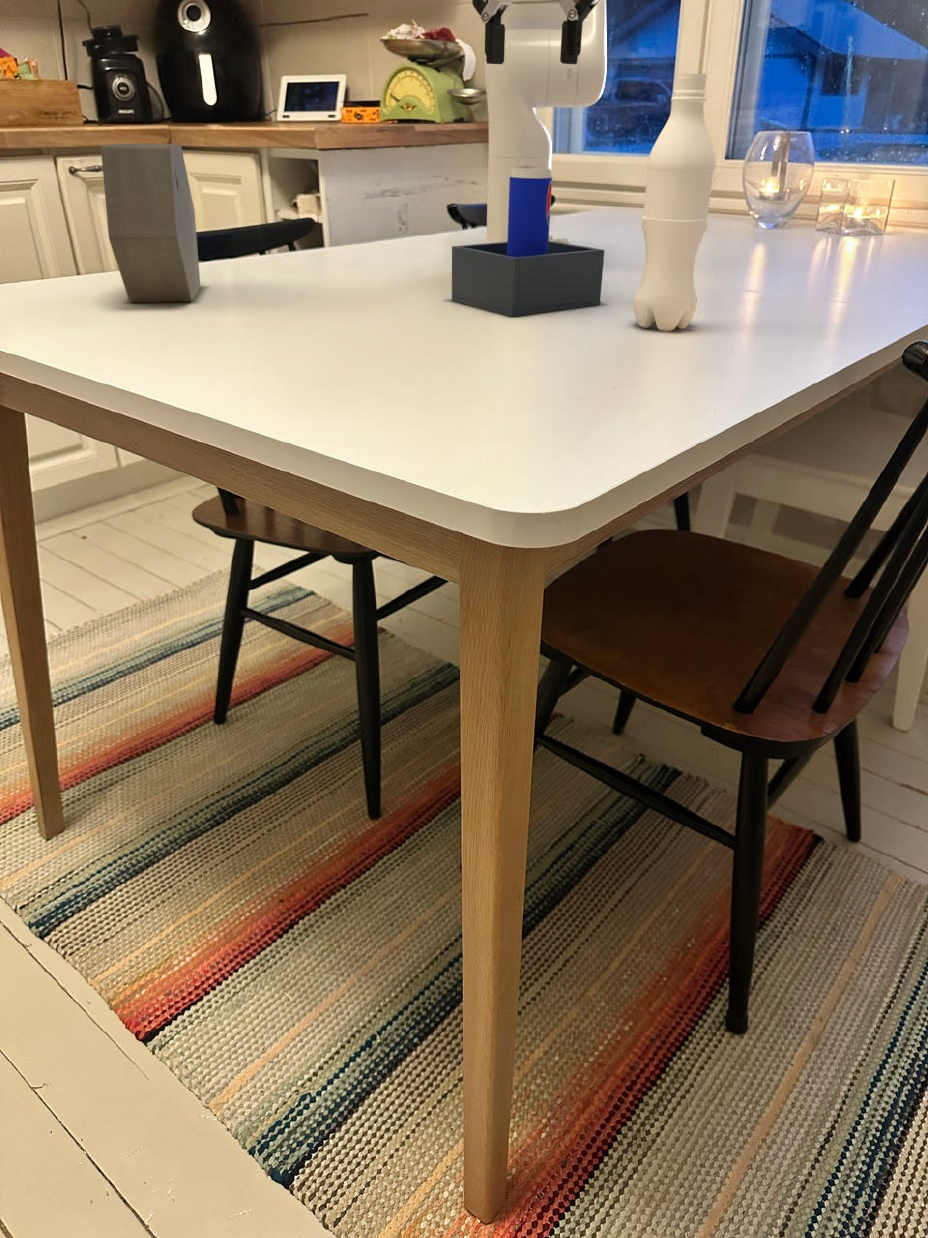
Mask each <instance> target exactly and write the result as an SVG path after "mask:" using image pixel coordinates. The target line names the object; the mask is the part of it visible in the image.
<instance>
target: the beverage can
mask: <svg viewBox="0 0 928 1238" xmlns="http://www.w3.org/2000/svg"><path fill="white" fill-rule="evenodd" d="M552 187H553V175H552V168H551V169H550V168H545V167H513V168H512V171H511V174H510V183H509V211H508V240H507V256H511V257H524V256H534V255H545V254H548V243H549V236H550V223H551V207H552V205H551V204H552Z"/></svg>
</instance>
